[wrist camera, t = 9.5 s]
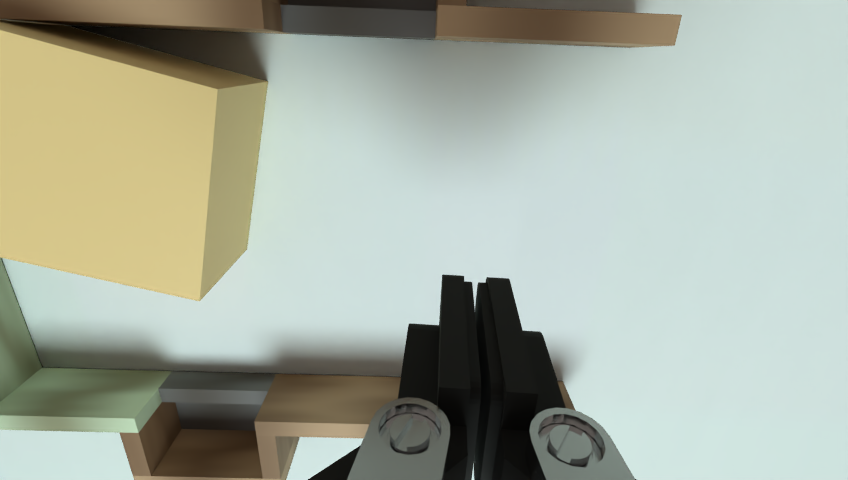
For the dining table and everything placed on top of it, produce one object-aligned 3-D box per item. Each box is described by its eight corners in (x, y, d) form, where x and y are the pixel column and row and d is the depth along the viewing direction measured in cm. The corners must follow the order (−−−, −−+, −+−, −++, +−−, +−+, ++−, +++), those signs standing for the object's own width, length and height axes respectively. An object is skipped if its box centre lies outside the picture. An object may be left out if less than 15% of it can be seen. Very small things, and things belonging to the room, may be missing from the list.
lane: (658, -96, 14) (743, -152, 10) (550, 444, 23) (574, 518, 19) (-173, -134, 13) (-397, -206, 10) (50, 432, 23) (-22, 506, 19)
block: (269, 81, 16) (217, 89, 12) (248, 247, 19) (199, 301, 15) (71, 26, 15) (-57, 14, 11) (78, 207, 18) (-24, 252, 14)
